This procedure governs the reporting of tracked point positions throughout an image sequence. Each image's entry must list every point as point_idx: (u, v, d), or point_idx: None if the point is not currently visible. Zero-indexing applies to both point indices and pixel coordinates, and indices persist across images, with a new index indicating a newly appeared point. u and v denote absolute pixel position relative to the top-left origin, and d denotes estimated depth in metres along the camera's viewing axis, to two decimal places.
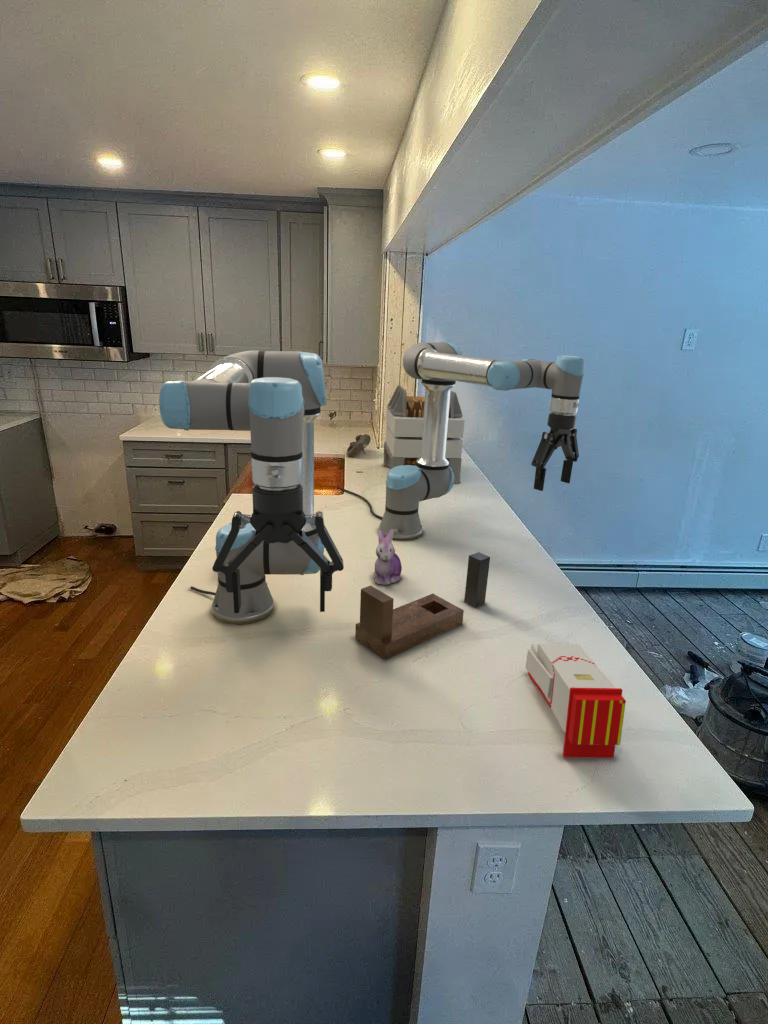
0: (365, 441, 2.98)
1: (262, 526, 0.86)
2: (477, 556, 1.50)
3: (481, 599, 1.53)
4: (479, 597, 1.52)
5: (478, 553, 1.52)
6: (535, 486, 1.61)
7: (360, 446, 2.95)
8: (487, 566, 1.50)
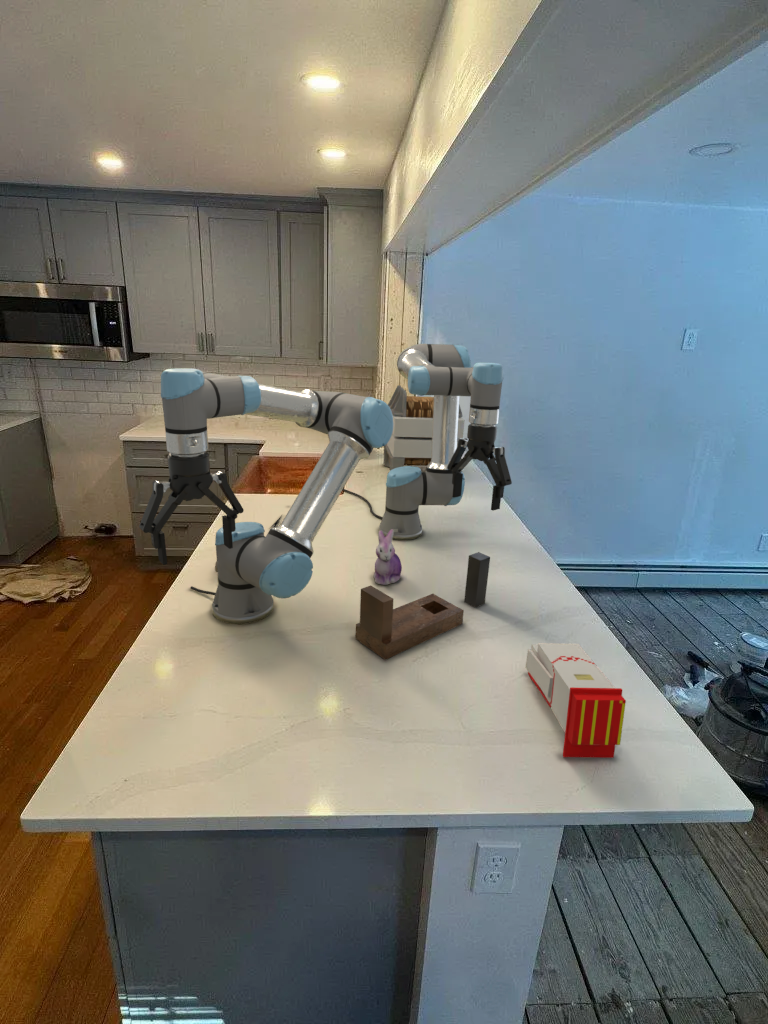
0: None
1: (181, 488, 1.08)
2: (477, 556, 1.50)
3: (481, 599, 1.53)
4: (479, 597, 1.52)
5: (478, 553, 1.52)
6: None
7: None
8: (487, 566, 1.50)
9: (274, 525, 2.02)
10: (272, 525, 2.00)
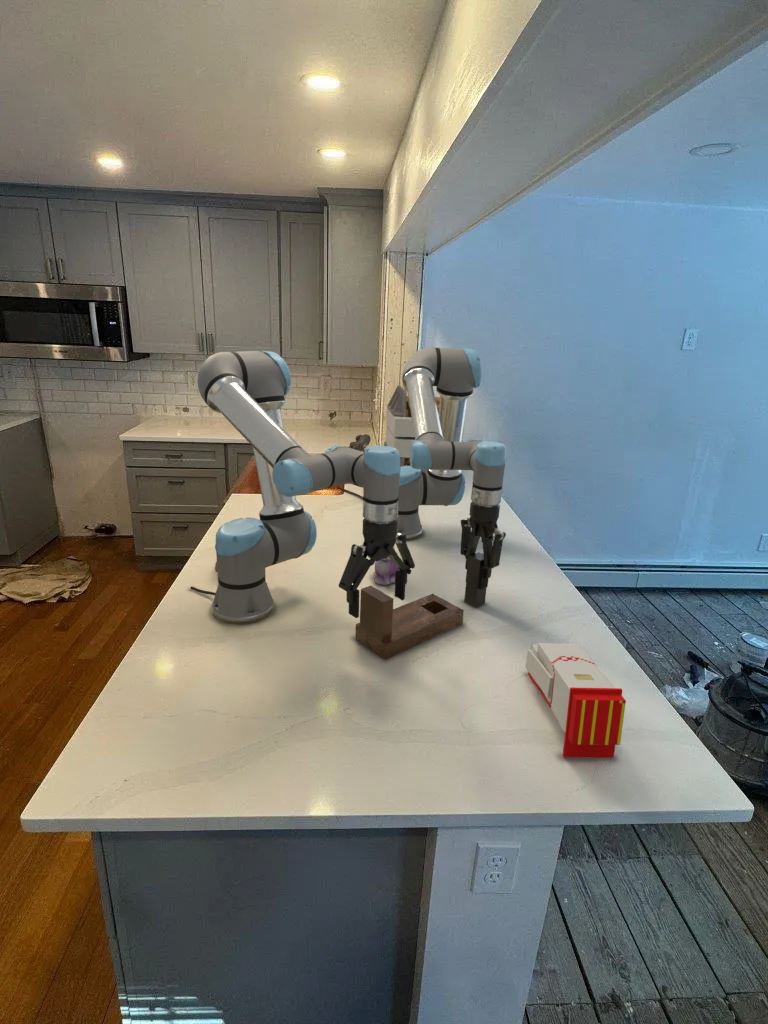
0: (365, 441, 2.98)
1: (374, 550, 1.22)
2: (477, 556, 1.50)
3: (481, 599, 1.53)
4: (479, 597, 1.52)
5: (478, 553, 1.52)
6: None
7: (360, 446, 2.95)
8: None
9: None
10: None
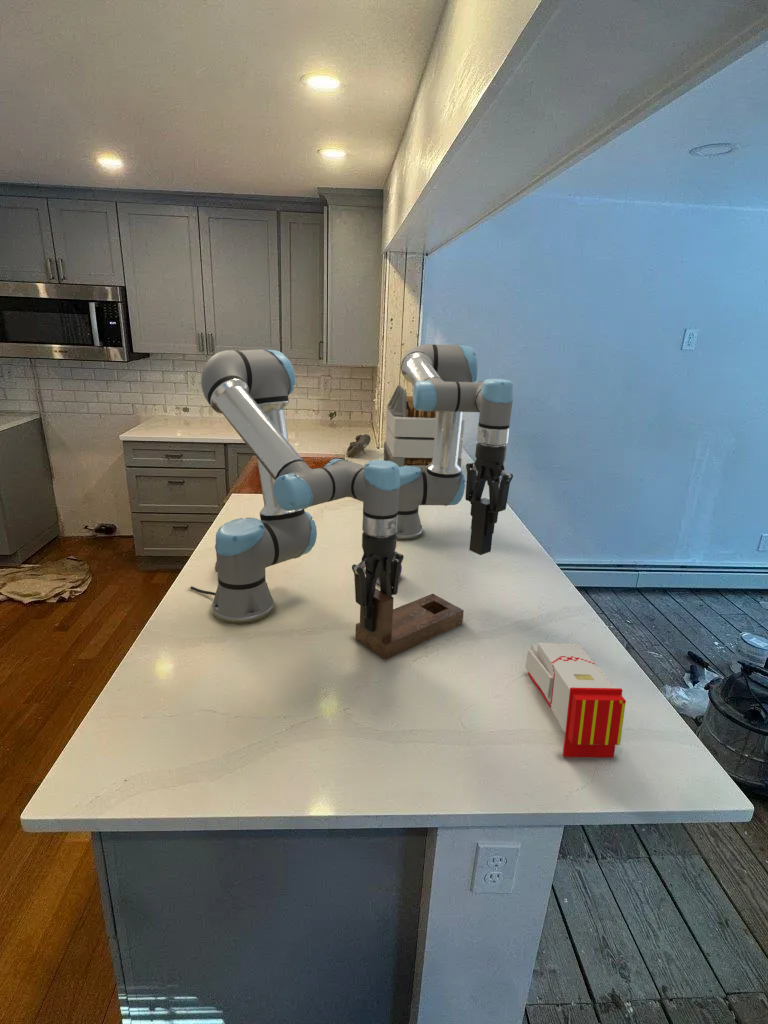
0: (365, 441, 2.98)
1: (374, 565, 1.23)
2: (482, 500, 1.45)
3: (487, 546, 1.48)
4: (485, 544, 1.47)
5: (484, 498, 1.47)
6: None
7: (360, 446, 2.95)
8: None
9: None
10: None
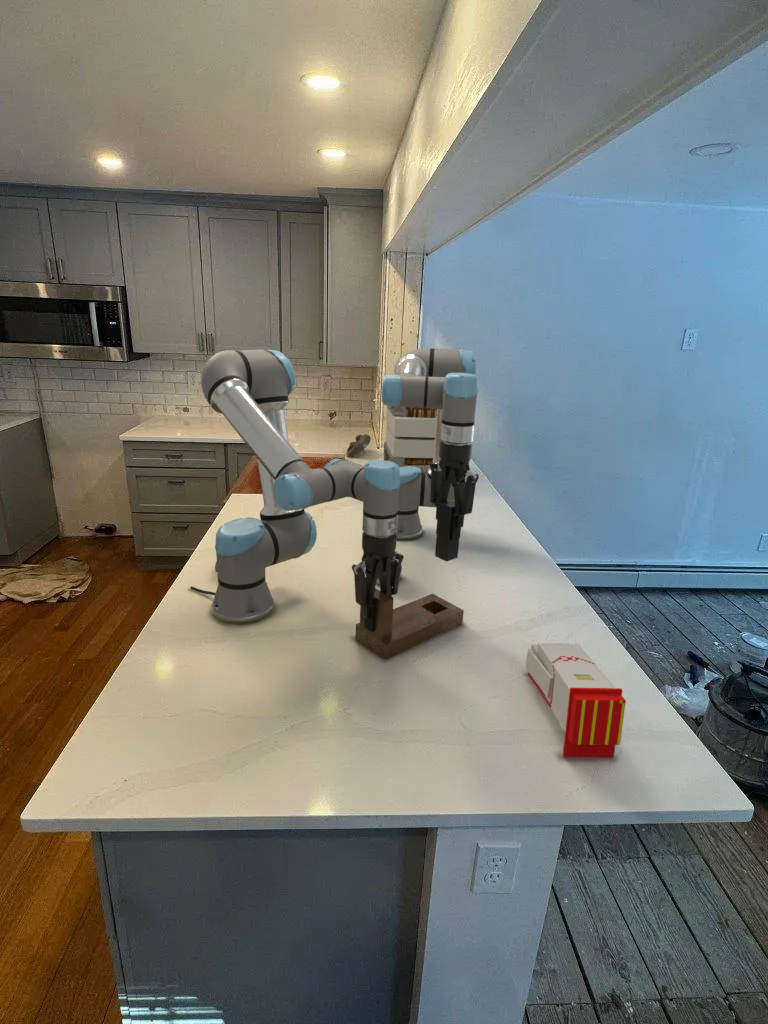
0: (365, 441, 2.98)
1: (374, 565, 1.23)
2: (448, 503, 1.36)
3: (453, 552, 1.39)
4: (451, 549, 1.38)
5: (449, 501, 1.37)
6: None
7: (360, 446, 2.95)
8: None
9: None
10: None
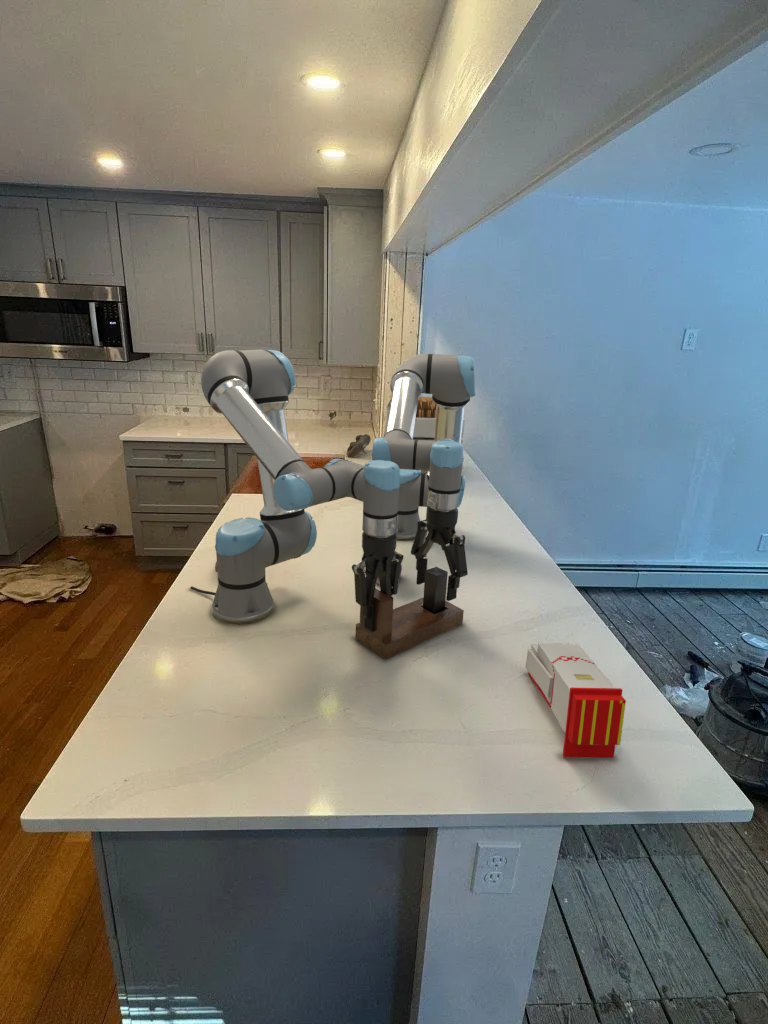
0: (365, 441, 2.98)
1: (374, 565, 1.23)
2: (433, 571, 1.40)
3: None
4: None
5: (435, 568, 1.42)
6: None
7: (360, 446, 2.95)
8: (445, 582, 1.41)
9: None
10: None
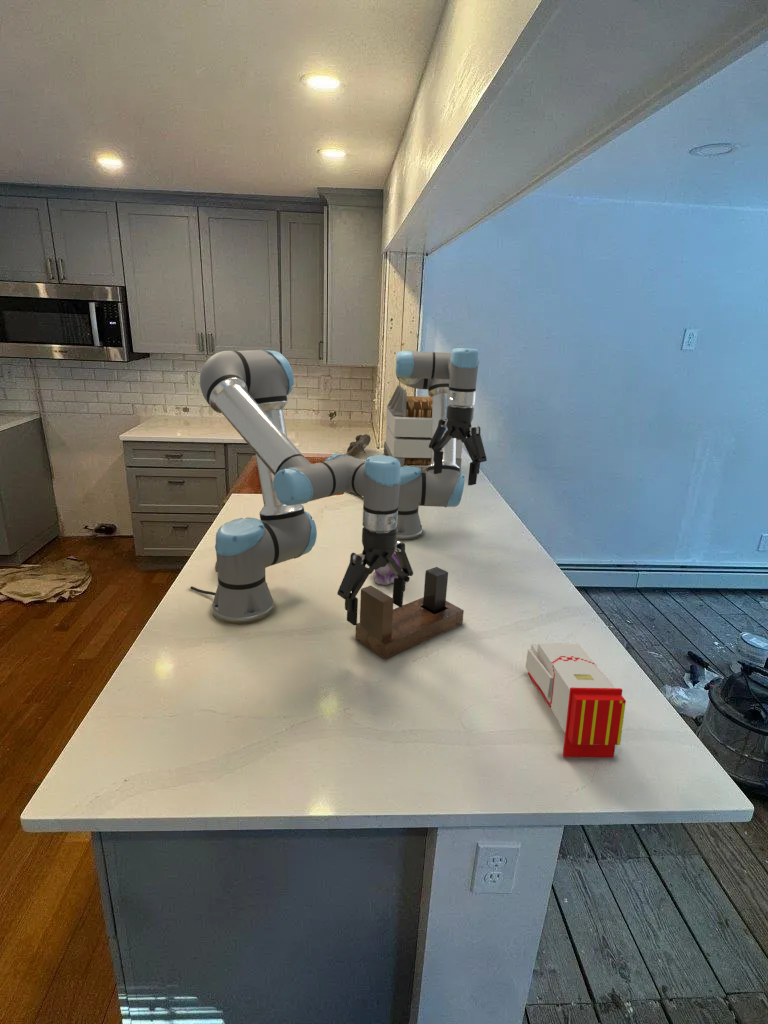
0: (365, 441, 2.98)
1: (373, 559, 1.23)
2: (434, 571, 1.40)
3: None
4: None
5: (436, 568, 1.42)
6: None
7: (360, 446, 2.95)
8: (445, 582, 1.41)
9: None
10: None
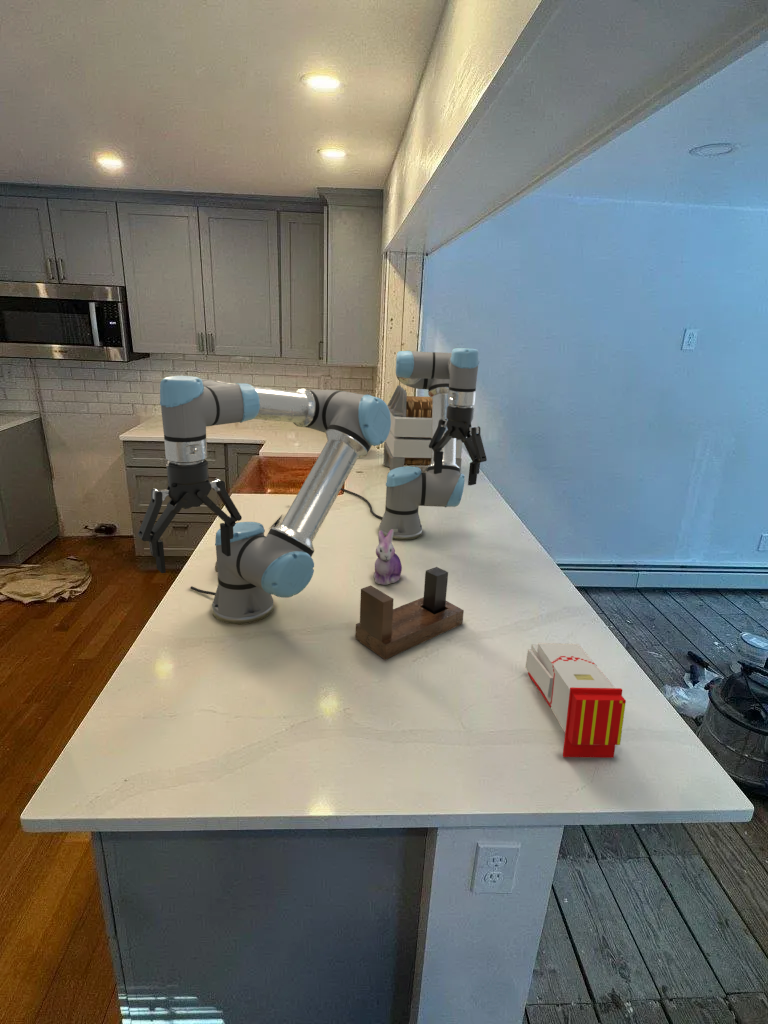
0: None
1: (180, 496, 1.08)
2: (434, 571, 1.40)
3: None
4: None
5: (436, 568, 1.42)
6: None
7: None
8: (445, 582, 1.41)
9: (274, 525, 2.02)
10: (272, 525, 2.00)
